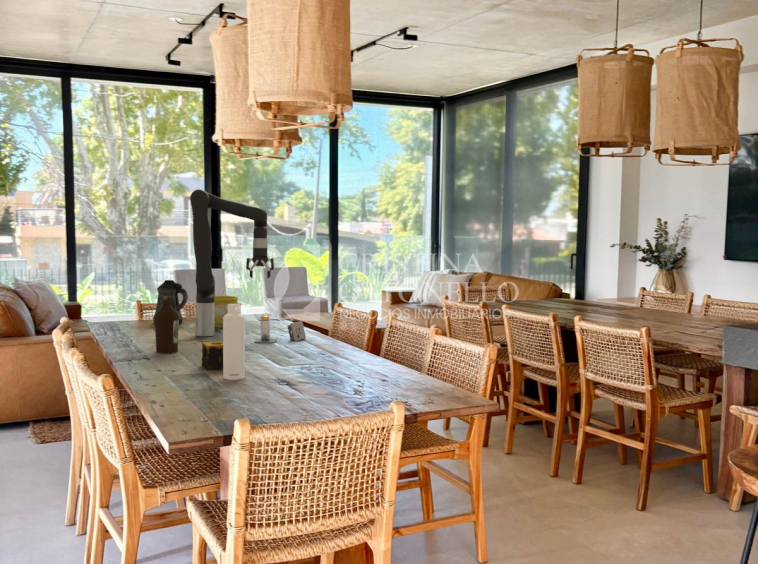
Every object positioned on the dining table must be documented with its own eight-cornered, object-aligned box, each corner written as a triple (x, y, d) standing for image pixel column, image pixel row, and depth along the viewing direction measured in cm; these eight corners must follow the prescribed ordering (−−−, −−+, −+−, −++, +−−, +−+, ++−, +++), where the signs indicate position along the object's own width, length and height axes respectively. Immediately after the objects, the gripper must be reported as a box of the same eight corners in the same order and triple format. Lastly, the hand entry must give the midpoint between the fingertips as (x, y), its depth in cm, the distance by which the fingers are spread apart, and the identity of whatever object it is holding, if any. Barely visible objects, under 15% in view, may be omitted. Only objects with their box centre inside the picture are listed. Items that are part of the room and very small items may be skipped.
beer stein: (154, 321, 416) (153, 279, 414) (188, 321, 420) (188, 279, 418) (152, 325, 400) (151, 281, 398) (187, 325, 404) (187, 281, 402)
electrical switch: (295, 341, 355) (294, 323, 354) (287, 341, 357) (286, 323, 357) (306, 339, 363) (305, 321, 362) (298, 339, 365) (296, 321, 365)
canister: (260, 340, 351) (259, 316, 350) (261, 339, 355) (261, 315, 354) (269, 340, 351) (268, 316, 350) (270, 339, 355) (270, 315, 354)
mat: (254, 343, 348) (254, 341, 348) (256, 339, 358) (256, 338, 358) (274, 343, 348) (274, 342, 348) (276, 339, 358) (276, 338, 358)
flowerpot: (234, 328, 394) (234, 299, 393) (202, 328, 394) (202, 298, 393) (241, 324, 412) (241, 295, 411) (210, 323, 412) (210, 295, 411)
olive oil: (151, 353, 316) (151, 298, 314) (158, 349, 326) (157, 295, 324) (175, 354, 316) (175, 298, 314) (181, 349, 327) (181, 295, 324)
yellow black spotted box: (206, 370, 282) (206, 346, 281) (200, 366, 291) (200, 342, 290) (232, 368, 287) (232, 344, 286) (225, 364, 295) (225, 340, 295)
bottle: (234, 380, 265) (234, 306, 262) (218, 378, 269) (218, 304, 267) (249, 377, 272) (249, 304, 269) (233, 374, 276) (233, 302, 274)
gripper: (245, 247, 365) (245, 278, 366) (273, 247, 366) (273, 278, 367) (247, 246, 372) (247, 277, 374) (274, 247, 373) (274, 277, 374)
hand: (260, 278), depth 370 cm, fingers open, 8 cm apart
